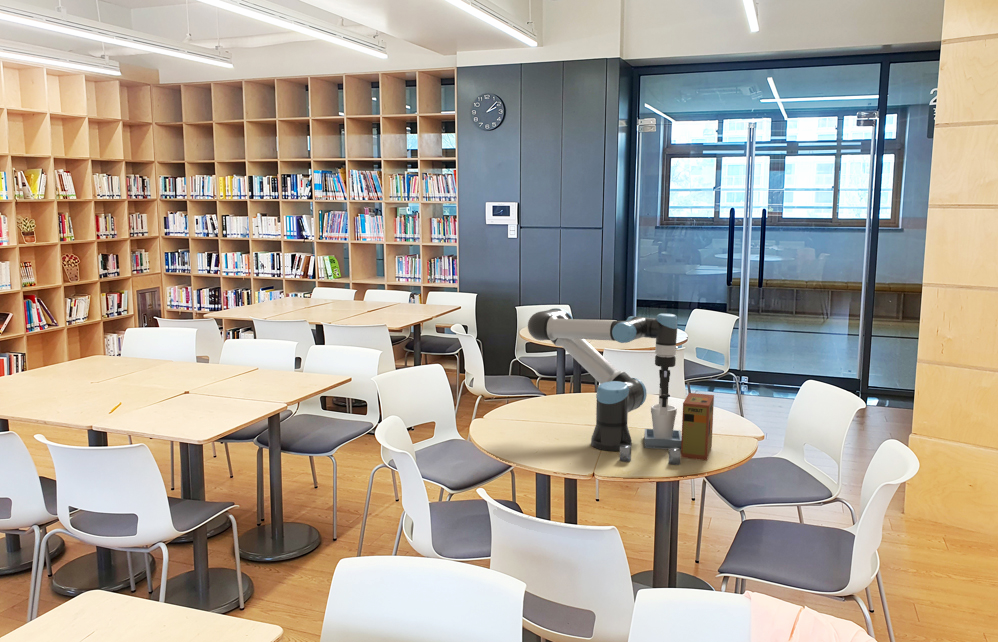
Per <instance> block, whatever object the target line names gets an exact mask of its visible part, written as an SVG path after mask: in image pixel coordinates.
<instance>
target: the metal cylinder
mask: <svg viewBox="0 0 998 642" xmlns="http://www.w3.org/2000/svg"><path fill="white" fill-rule="evenodd" d="M618 460H619V461H620V462H622V463H630V462H632V446H629V445H621V446H620V451H619V459H618Z"/></svg>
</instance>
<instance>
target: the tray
mask: <svg viewBox="0 0 998 642" xmlns="http://www.w3.org/2000/svg"><path fill="white" fill-rule="evenodd" d="M643 436H644V440H643V441H644V449H660V450H661V449H662V450H669V448H679V449H681V441H682V430H680V429H673V435H672V440H671V439H654V433H653V428H644V435H643Z"/></svg>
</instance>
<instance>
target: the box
mask: <svg viewBox="0 0 998 642" xmlns="http://www.w3.org/2000/svg"><path fill="white" fill-rule="evenodd" d="M714 401H715V395H714V394H706V393H695V392H689V393H688V394H687V396H686V397H685V399H684V401H683V402H682V421H681V423H682V424H681V436H682V441H681V456H680V459H681V458H683V459H691V460H698V461H699V460H700V461H708V458H709V456H710V454H711V450H712V445H713V444H712V443H713V428H714V426H713V425H714V405H715V402H714Z"/></svg>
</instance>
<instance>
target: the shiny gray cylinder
mask: <svg viewBox="0 0 998 642" xmlns="http://www.w3.org/2000/svg"><path fill="white" fill-rule="evenodd" d="M668 464H669V465H673V466H679V465H681V449H679V448H669V449H668Z"/></svg>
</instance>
